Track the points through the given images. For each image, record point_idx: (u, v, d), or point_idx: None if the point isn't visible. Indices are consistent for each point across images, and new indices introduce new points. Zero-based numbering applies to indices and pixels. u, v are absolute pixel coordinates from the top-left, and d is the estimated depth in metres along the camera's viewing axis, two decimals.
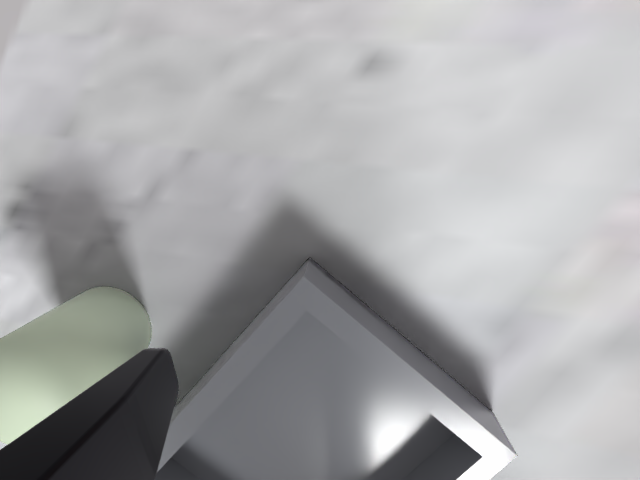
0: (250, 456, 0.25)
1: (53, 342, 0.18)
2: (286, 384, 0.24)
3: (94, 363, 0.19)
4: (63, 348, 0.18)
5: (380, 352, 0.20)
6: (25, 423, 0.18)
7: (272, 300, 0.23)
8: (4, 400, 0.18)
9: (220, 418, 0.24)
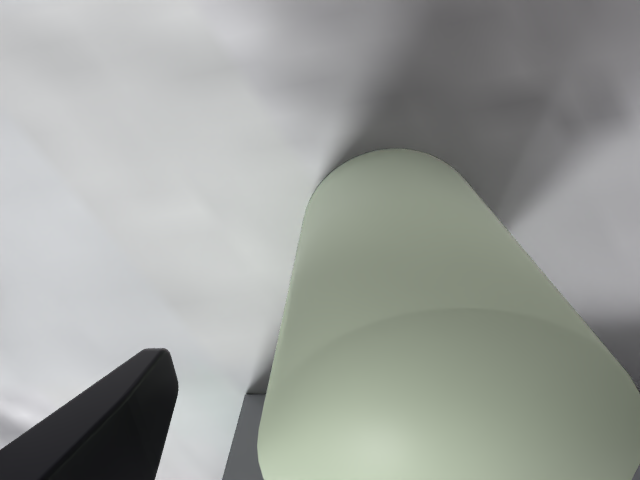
0: None
1: None
2: None
3: None
4: None
5: None
6: None
7: None
8: (400, 443, 0.05)
9: None
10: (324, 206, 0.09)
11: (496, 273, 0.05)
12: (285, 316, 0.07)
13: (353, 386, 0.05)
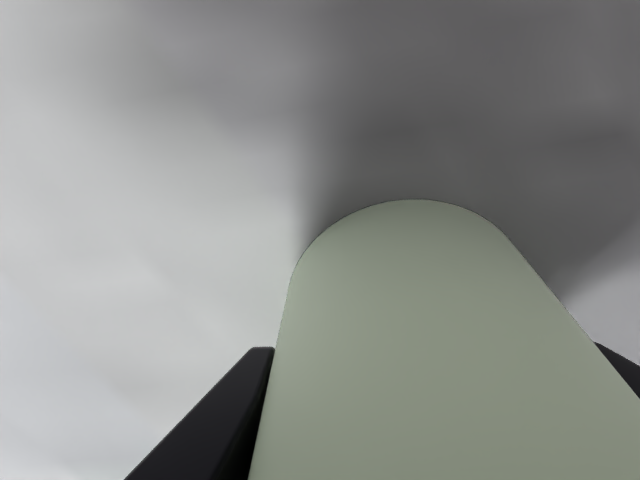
0: None
1: None
2: None
3: None
4: None
5: None
6: None
7: None
8: None
9: None
10: (313, 299, 0.06)
11: None
12: None
13: None
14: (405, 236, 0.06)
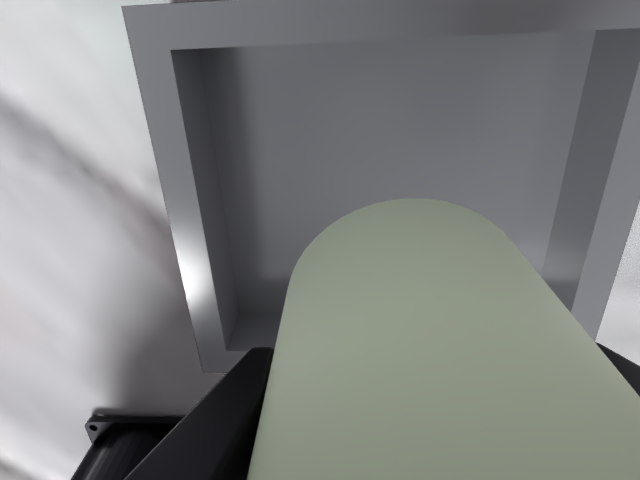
0: (299, 155, 0.17)
1: None
2: (434, 112, 0.15)
3: None
4: None
5: (635, 167, 0.13)
6: None
7: None
8: None
9: (316, 75, 0.15)
10: (313, 298, 0.06)
11: None
12: None
13: None
14: (405, 235, 0.06)
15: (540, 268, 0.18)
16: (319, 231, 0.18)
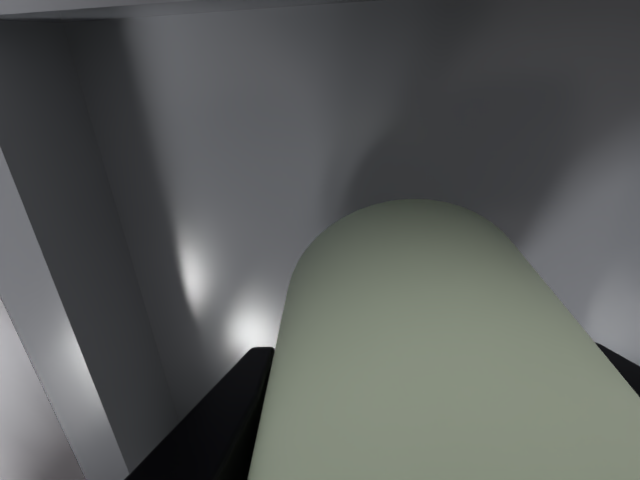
0: (253, 204, 0.10)
1: None
2: (479, 130, 0.09)
3: None
4: None
5: None
6: None
7: None
8: None
9: (272, 70, 0.09)
10: (313, 299, 0.06)
11: None
12: None
13: None
14: (405, 236, 0.06)
15: None
16: None
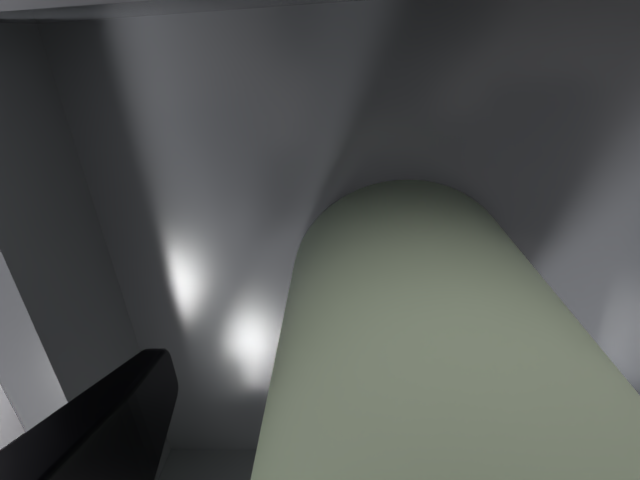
0: (245, 218, 0.09)
1: None
2: (488, 139, 0.08)
3: None
4: None
5: None
6: None
7: None
8: None
9: (265, 75, 0.08)
10: (319, 261, 0.07)
11: (596, 439, 0.03)
12: (261, 444, 0.05)
13: None
14: (398, 208, 0.07)
15: None
16: None
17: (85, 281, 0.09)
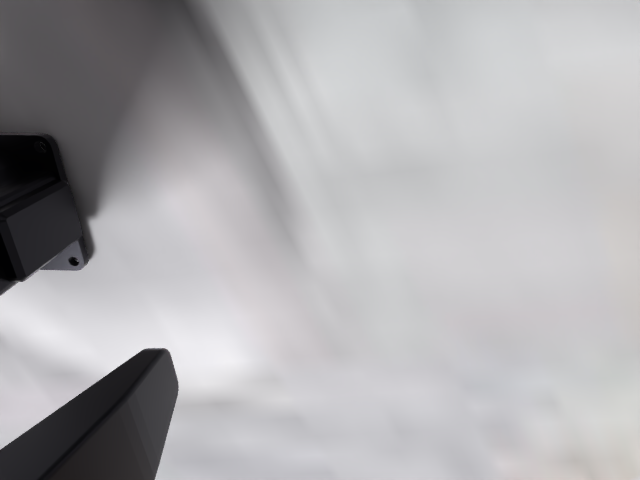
0: None
1: None
2: None
3: None
4: None
5: None
6: None
7: None
8: None
9: None
10: None
11: None
12: None
13: None
14: None
15: None
16: None
17: None
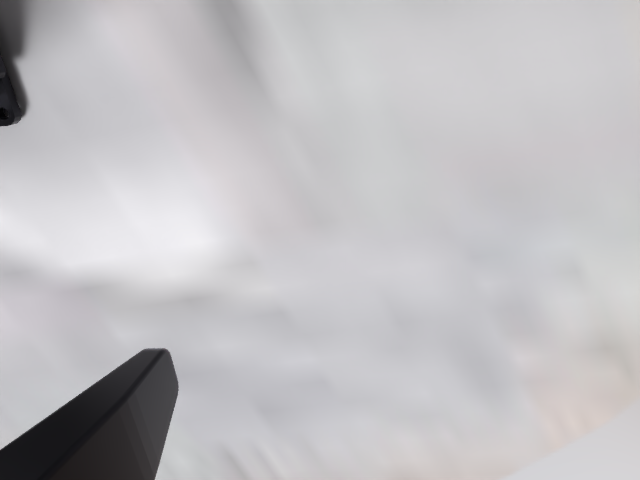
0: None
1: None
2: None
3: None
4: None
5: None
6: None
7: None
8: None
9: None
10: None
11: None
12: None
13: None
14: None
15: None
16: None
17: None
